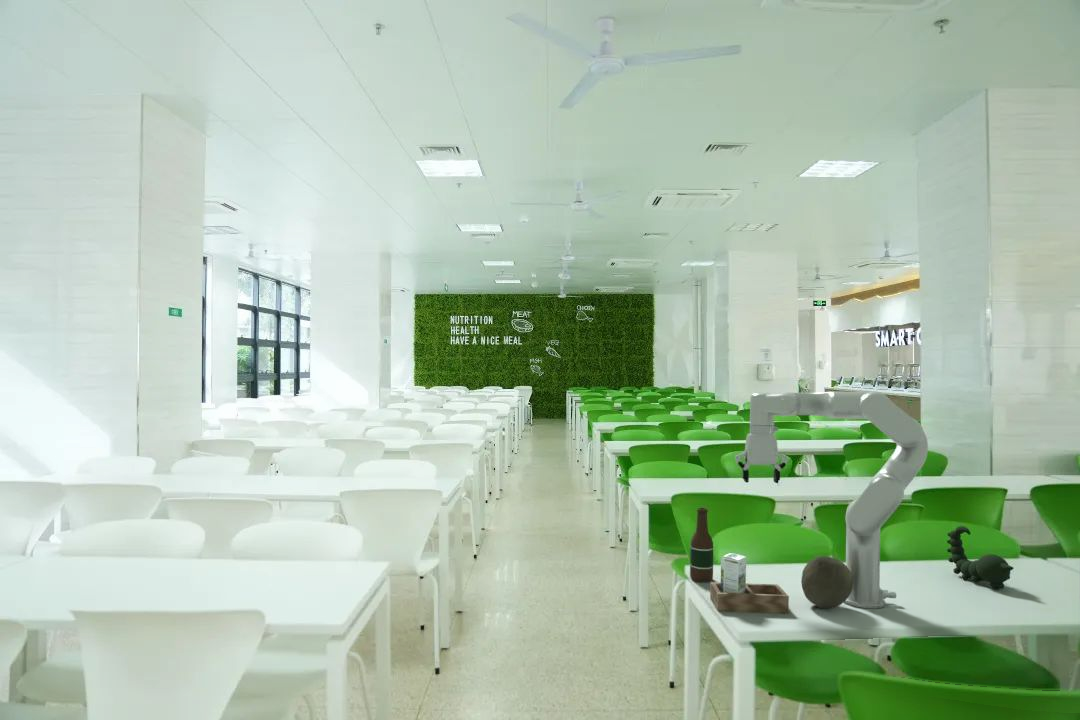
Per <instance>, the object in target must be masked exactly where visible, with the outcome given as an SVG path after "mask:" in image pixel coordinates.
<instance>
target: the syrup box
mask: <svg viewBox="0 0 1080 720" xmlns="http://www.w3.org/2000/svg"><path fill="white" fill-rule="evenodd" d="M720 558H721V560H720V561H721V562H720V583H721V586H720V592H721V593H745V587H746V581H747V579H746V577H747V556H745V555H742V554H737V553H731V552H730V553H727V554H725V555H723V556H721V557H720Z"/></svg>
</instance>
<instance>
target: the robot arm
mask: <svg viewBox="0 0 1080 720" xmlns="http://www.w3.org/2000/svg"><path fill="white" fill-rule="evenodd" d="M749 399H750V401H749V405H750V406H749V433H747V434H746V437H745V446H744V451H743V452H740V453H739V454H735V455H734V460H735V462H736V464H737V465H738V466H739V467H740V468H741V470H742V480H743V481H744V482H745V483H749V482H750V481H749V480H750V479H749V478H750V476H749V473H750V472H749V471H750V470H749V468H750V467H751V466H752V465H753V466H773V469H774V470H773V482H774V483H776V484H779V481H780V479H781V471H782V470H783V469H784V468H785V467H786V465H787V463H788V461H789V457H787V455H784V454H782V453H781V452H779V450H778V449H779V448H778V441H777V436H776V434H775V432H779V427H778V426H775V416H779V417H791V416H817V417H818V416H819V417H824V418H828V419H846V420H847V419H850V420H851V419H852V420H855V419H857V420H868V421H869V422H870V423H871V424H872V425H874V427H876V428H878V429H879V430H880V431H881V432H882V433H883V434H885V435H886V436H887V437H888V438H889V439H891V440H892V442H894V443H895V444H896V447H895V449H894V451H893V453H892V454H891V456H889V458H888V460H887V461H886V462H885V463H884V465H883V466H882V467H881V468H879V471H878V472H877V473H876V474H875V475H874V476H873V477H872V478H870V481H869V482H868V486H867V487H866V488H865V489H864V491H863V492H862V493H861V494H860V495H859V497H858V498H857V499H855V500H853V501H852V500H851V502H850V503H849V504H848V505H847V508H846V512H845V517H844V519H845V523H846V524H845V525H846V527H845V532H846V533H845V534H846V535H845V541H846V542H845V565H846V566H847V567H848V569H849V570H850V572H851V574H852V576H853V588H852V591H851V593H850V595H849V597H848V598H847V599H846V600H845V601H844V602H843V603H844V604H847V605H849V606H852V607H853V606H854V607H857V608H864V609H880V608H884V607H885V606H886V601H885V600H886V599H887V598H888V599H897V592H896V591H889V590H888V589H882V588H881V587H880V586H881V585H880V584H881V583H880V582H881V581H880V580H881V576H880V574H881V573H880V572H881V571H880V570H881V562H880V561H881V528H882V527H883V526H884V524H885V523H887V521H888V520H889V518H890V517H891V516H892V515H893V513H895V511H896V510H897V509H898V507H900V504H901V503H902V501H903V500H904V497H905V491H906V489H907V487H908V486H909V485H910V484H911V482H912V481H913V480H914V479H915V477H916V476H917V474H919V472H920V470H921V469H922V468H923V466H924V464H925V463H926V460H927V457H928V451H929V443H928V438H927V436H926V433H925V431H924V428H923V426H922V425H921V423H920V422H919V421H918V420H916V419H915V418H913V417H911V416H910V415H909V414H907V413H906V411H904V410H903V409H901V407H899V406H898V405H897V404H895V403H894V402H893V401H892V400H891V399H889V398H888V396H887V395H886V394H884V393H882V392H880V391H825V392H823V391H822V392H784V393H776V394H775V393H774V394H772V393H768V392H754V393H752V394H750V397H749ZM779 458H780V459H782V461H781V462H780V463H779ZM741 459H744V460H743V461H745V462H744V463H743V462H742V460H741ZM778 463H779V464H778Z"/></svg>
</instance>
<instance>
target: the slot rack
mask: <svg viewBox="0 0 1080 720" xmlns="http://www.w3.org/2000/svg"><path fill="white" fill-rule="evenodd" d="M709 583H710V587H709V588H710V589H709V599H710V601H711V602H712V604H713V606H714V607H715V610H716V611H717V612H741V613H765V614H766V613H768V614H772V613H773V614H789V607H790V606H789V603H790V599H789V598H790V597H789V594H787V593H786V592H785V590H784V589H782V587H781V586H780V585H779V584H778V583H777V584H775V583H774V584H773V583H772V584H770V583H746V587H745V593H721V592H720V586H721V582H717V581H715V582H713V581H710V582H709Z"/></svg>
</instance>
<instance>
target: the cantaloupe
mask: <svg viewBox="0 0 1080 720" xmlns="http://www.w3.org/2000/svg"><path fill="white" fill-rule="evenodd" d="M800 581H801V587H802V591H803V594H804V596H805V598H806V599H807V600H808V601H809V603H811V604H813V605H815V606H817V608H820V609H822V610H830V609H834V608H837V607H839V606H841V605H842V604H844V603H845V602H844V601H845V600H846V599H847V598H848V597H849V595H850V593H851V591H852V588H853V576H852V574H851V572H850V570H849V569H848V567H847V566H846V563H844V562H843V561H841V560H839V558H835V557H831V556H825V555H821V556H820V555H819V556H816V557H814V558H812V559H810V560H809V561H808V562H807V563H806V565H804V568H803V570H802V573H801V580H800Z"/></svg>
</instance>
